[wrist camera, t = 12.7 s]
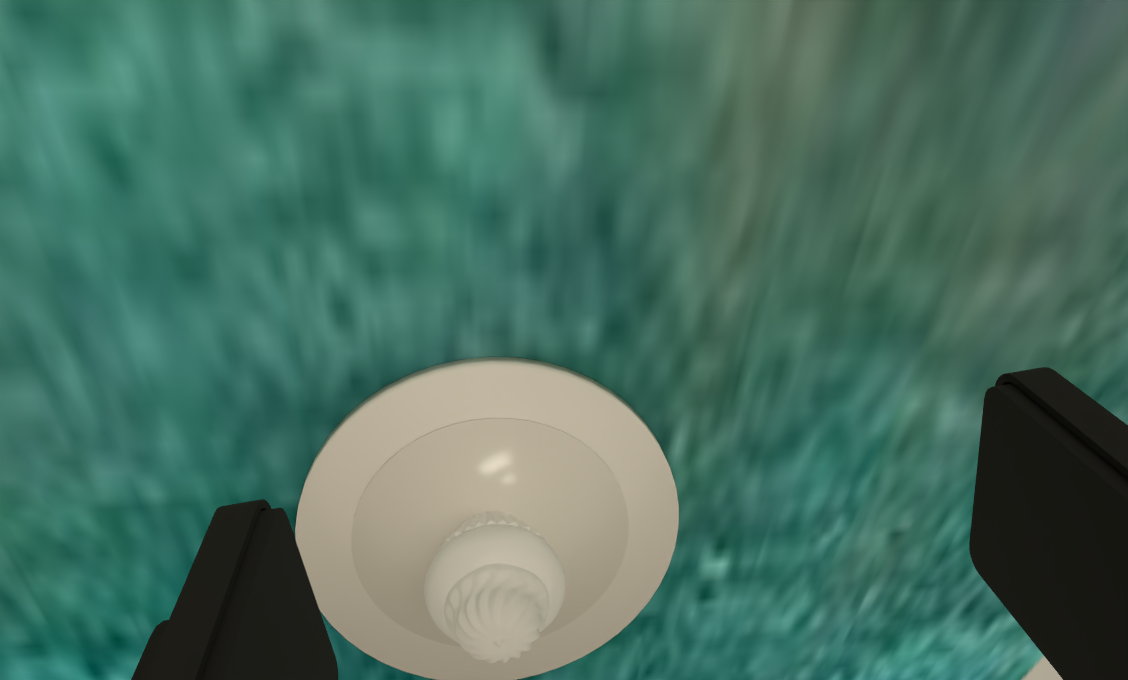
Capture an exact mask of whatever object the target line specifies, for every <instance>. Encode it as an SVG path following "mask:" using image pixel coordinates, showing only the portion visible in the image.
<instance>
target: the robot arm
mask: <svg viewBox="0 0 1128 680" xmlns="http://www.w3.org/2000/svg"><path fill="white" fill-rule="evenodd" d="M969 548H970V555H971V558H972V562H973V564H974V566H975V568H976V570H977V572H978V573H979V574H980V576H981V577H982V578H983V580H984V581H985V582H986V583H987V585H988V586H989V587H990V588H991V590H992V591H993V592H994V593H995V595H996V596H997V597H998V598H999V600H1000V601H1001V602H1002V603H1003V605H1004V606H1005V607H1006V608H1007V610H1008V611H1009V612H1010V613H1011V615H1012V616H1013V617H1014V618H1015V620H1016V621H1017V622H1018V623H1019V625H1020V626H1021V627H1022V628H1023V630H1024V631H1025V632H1026V633H1027V635H1028V636H1029V637H1030V638H1031V640H1032V641H1033V642H1034V643H1035V645H1036V646H1037V647H1038V649H1039V650H1040V651H1041V652H1042V654H1043V655H1044V656H1045V657H1046V658H1047V660H1048V661H1049V662H1050V664H1051V665H1052V666H1053V667H1054V669H1055V670H1056V671H1057V672H1058V674H1059V675H1060V676H1061V677H1062V679H1063V680H1128V425H1126V424H1125V423H1124V422H1122V421H1121V420H1120V419H1118V418H1117V417H1116V416H1114V415H1113V414H1112V413H1110V412H1109V411H1108V410H1106V409H1105V408H1104V407H1102V406H1101V405H1100V404H1098V403H1097V402H1096V401H1094V400H1093V399H1092V398H1090V397H1089V396H1088V395H1086V394H1085V393H1084V392H1082V391H1081V390H1080V389H1078V388H1077V387H1076V386H1074V385H1073V384H1072V383H1070V382H1069V381H1068V380H1066V379H1065V378H1064V377H1062V376H1061V375H1060V374H1058V373H1057V372H1056V371H1054V370H1052V369H1050V368H1046V367H1042V368H1036V369H1030V370H1024V371H1018V372H1013V373H1007V374H1003V375H1001V376H1000V377H999V378H998V380H997V381H996V384H995V387H991V388H989V389H988V390H987V392H986V394H985V398H984V407H983V417H982V426H981V436H980V446H979V455H978V465H977V475H976V485H975V494H974V504H973V514H972V524H971V533H970V543H969ZM131 680H338V668H337V662H336V658H335V654H334V651H333V648H332V645H331V642H330V640H329V637H328V634H327V631H326V628H325V625H324V622H323V619H322V616H321V613H320V610H319V607H318V604H317V601H316V599H315V596H314V593H313V590H312V587H311V584H310V581H309V578H308V575H307V572H306V569H305V566H304V563H303V561H302V558H301V555H300V552H299V549H298V546H297V543H296V540H295V537H294V534H293V531H292V528H291V525H290V522H289V520H288V517H287V514H286V512H285V511H284V509H282V508H276V509H271V507H270V505H269V503H268V502H267V501H266V500H263V499H262V500H256V501H250V502H244V503H238V504H232V505H226V506H221V507H219V508H218V509H217V510H216V512H215V513H214V516H213V518H212V520H211V523H210V525H209V527H208V530H207V532H206V534H205V537H204V539H203V541H202V544H201V546H200V549H199V551H198V553H197V556H196V558H195V560H194V563H193V565H192V567H191V570H190V572H189V574H188V577H187V579H186V581H185V584H184V586H183V588H182V591H181V593H180V596H179V598H178V600H177V603H176V605H175V607H174V610H173V612H172V614H171V617H170V619H169V620H165V621H163V622H161V623H160V624H159V625H157V626H156V628H155V630H154V631H153V633H152V634H151V636H150V638H149V641H148V643H147V645H146V647H145V650H144V652H143V654H142V656H141V659H140V661H139V663H138V665H137V668H136V670H135V672H134V675H133V677H132V679H131Z"/></svg>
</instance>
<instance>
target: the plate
mask: <svg viewBox="0 0 1128 680" xmlns="http://www.w3.org/2000/svg"><path fill="white" fill-rule="evenodd" d="M488 511H491V512H494V511H497V512H498V513H500V512H504V513H506V514H507V515H512V516H514V517H515V518H517V519H519V520H520V521H522V522H523V523H525V524H527V525H528V526H530V527H531V528H533V529H534V530H536V531H538V532H539V535H540V536H542V537H543V538H545V539H546V540H547V543H548V544H549V545H550V546H551V547H552V548H553V549H554V551H555V552H556V553H557V555H558V557H559V559H560V561H561V563H562V565H563V568H564V571H565V576H566V592H565V597H564V601H563V604H562V606H561V608H560V611H559V613H558V614H557V616H556V617H555V619H554V620H553V621H552V622H551V623H550V624H549V625H548V626H547V627H546V628H545V629H544V630H542V631H541V632H540V637H539V638H538V639H537V640H535V641H533V642H532V648H531V649H530V650H528V651H522V652H521V656H520V657H519V658H513V657H512V658H510V659H509V660H508V661H507V662H506V663H503V662H501V661H500V660H498V661H496V662H495V663H488V662H486V661H485V660H477V659H475V658H473V657H472V656H471V655H470V654H469V652H467V651H465V650H464V649H463V648H462V647H461V646H460V644H459V643H457V642H455V641H454V640H452V639H451V638H449V637H448V636H446V635H445V634H444V633H443V632H442V631H441V630H440V629H439V628H438V627H437V625H436V624H435V623H434V621H433V619H432V618H431V616H430V614H429V612H428V609H427V606H426V602H425V597H424V582H425V577H426V574H427V571H428V568H429V566H430V564H431V562H432V560H433V559H434V557H435V555H436V554H437V553H438V551H439V548H440V547H441V546H442V545H443V544H444V543H445V542H446V539H447V538H448V537H449V536H450V535H451V534H452V533H454V532H455V531H456V530H457V529H458V528H459V527H460V526H461V525H462V524H463V523H464V522H466V521H467V520H468V519H469V518H470V517H474V516H475V515H476V514H478V515H480V514H481V513H482V512H485V513H487V512H488ZM678 521H679V505H678V498H677V491H676V486H675V482H674V479H673V476H672V473H671V469H670V466H669V464H668V462H667V460H666V458H665V455H664V453H663V451H662V449H661V447H660V445H659V443H658V441H657V439H656V437H655V436H654V434H653V433H652V431H651V430H650V429H649V427H648V426H647V424H646V423H645V421H644V420H643V419H642V418H641V417H640V416H639V415H638V414H637V413H636V412H635V411H634V409H633V408H632V407H631V406H630V405H629V404H628V403H626V402H625V401H624V400H623V399H621V398H620V397H619V396H618V395H616V394H615V393H614V392H613V391H611V390H610V389H608V388H607V387H605V386H603V385H601V384H600V383H598V382H596V381H595V380H593V379H591V378H589V377H587V376H585V375H582V374H580V373H577V372H575V371H573V370H570V369H568V368H565V367H561V366H558V365H554V364H550V363H547V362H543V361H537V360H531V359H524V358H517V357H481V358H470V359H461V360H457V361H452V362H447V363H443V364H438V365H434V366H432V367H429V368H426V369H423V370H420V371H417V372H414V373H411V374H409V375H407V376H405V377H403V378H401V379H399V380H397V381H395V382H392V383H390V384H388V385H387V386H385V387H383V388H382V389H380V390H379V391H377V392H376V393H374V394H373V395H371V396H370V397H368V398H366V399H365V400H364V401H363V402H362V403H360V404H359V405H358V406H357V407H356V408H355V409H353V410H352V411H351V412H350V413H349V414H347V415H346V416H345V418H344V419H343V420H342V421H341V422H340V423H339V424H338V425H337V426H336V428H335V429H334V430H333V431H332V432H331V433H330V435H329V436H328V438H327V439H326V441H325V442H324V444H323V445H322V447H321V448H320V450H319V451H318V453H317V454H316V457H315V459H314V461H313V463H312V465H311V467H310V469H309V471H308V474H307V477H306V480H305V484H304V487H303V491H302V494H301V498H300V502H299V505H298V511H297V519H296V528H295V534H296V543H297V546H298V549H299V552H300V555H301V558H302V561H303V563H304V566H305V569H306V572H307V575H308V578H309V581H310V584H311V587H312V590H313V593H314V596H315V599H316V601H317V604H318V607H319V610H320V611H321V613H322V614H323V615H324V616H325V618H326V619H327V620H328V621H329V623H330V624H331V625H332V626H333V627H334V628H335V629H336V630H337V631H338V632H339V633H340V634H341V635H342V636H343V637H345V638H346V639H347V640H348V641H349V642H351V643H352V644H353V645H355V646H356V647H358V648H359V649H360V650H362V651H363V652H364V653H366V654H368V655H370V656H372V657H374V658H375V659H377V660H379V661H381V662H383V663H385V664H387V665H390V666H392V667H394V668H397V669H399V670H402V671H404V672H408V673H411V674H415V675H418V676H422V677H425V678H431V679H437V680H516V679H521V678H525V677H529V676H533V675H538V674H541V673H544V672H547V671H550V670H553V669H556V668H559V667H562V666H564V665H566V664H568V663H571V662H573V661H575V660H577V659H579V658H582V657H583V656H585V655H587V654H588V653H590V652H592V651H594V650H595V649H597V648H599V647H600V646H602V645H603V644H605V643H606V642H607V641H609V640H610V639H611V638H613V637H614V636H615V635H617V634H618V633H619V632H620V631H621V630H623V629H624V628H625V627H626V626H627V625H628V624H629V623H630V622H631V621H632V620H633V619H634V618H635V617H636V616H637V615H638V614H639V613H640V611H641V610H642V609H643V608H644V607H645V606H646V604H647V603H648V602H649V600H650V599H651V597H652V596H653V594H654V593H655V591H656V590H657V588H658V587H659V585H660V583H661V581H662V579H663V577H664V575H665V573H666V571H667V569H668V567H669V564H670V561H671V558H672V555H673V552H674V549H675V544H676V538H677V533H678Z"/></svg>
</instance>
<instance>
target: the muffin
mask: <svg viewBox="0 0 1128 680" xmlns="http://www.w3.org/2000/svg"><path fill="white" fill-rule="evenodd" d="M565 592H566V576H565V571H564V568H563V565H562V563H561V561H560V559H559V557H558V555H557V553H556V552H555V551H554V549H553V548H552V547H551V546H550V545H549V544H548V543H547V540H546V539H545V538H543V537H542V536H540V535H539V532H538V531H536V530H534V529H533V528H531V527H530V526H528V525H527V524H525V523H523V522H522V521H520V520H519V519H517V518H515V517H514V516H512V515H507V514H506V513H504V512H500V513H498V512H497V511H494V512H491V511H488V512H487V513H485V512H482V513H481V514H480V515H478V514H476V515H475V516H474V517H470V518H469V519H468V520H467V521H466V522H464V523H463V524H462V525H461V526H460V527H459V528H458V529H457V530H456V531H455V532H454V533H452V534H451V535H450V536H449V537H448V538H447V539H446V542H445V543H444V544H443V545H442V546H441V547H440V548H439V551H438V553H437V554H436V555H435V557H434V559H433V560H432V562H431V564H430V566H429V568H428V571H427V574H426V577H425V582H424V597H425V602H426V606H427V609H428V612H429V614H430V616H431V618H432V619H433V621H434V623H435V624H436V625H437V627H438V628H439V629H440V630H441V631H442V632H443V633H444V634H445V635H446V636H448V637H449V638H451V639H452V640H454V641H455V642H457V643H459V644H460V646H461V647H462V648H463V649H464V650H465V651H467V652H469V654H470V655H471V656H472V657H473V658H475V659H477V660H485V661H486V662H488V663H495V662H496V661H498V660H500V661H501V662H503V663H506V662H507V661H508V660H509V659H510V658H512V657H513V658H519V657H520V656H521V652H522V651H528V650H530V649H531V648H532V642H533V641H535V640H537V639H538V638H539V637H540V632H541V631H542V630H544V629H545V628H546V627H547V626H548V625H549V624H550V623H551V622H552V621H553V620H554V619H555V617H556V616H557V614H558V613H559V611H560V608H561V606H562V604H563V601H564V597H565Z"/></svg>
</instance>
